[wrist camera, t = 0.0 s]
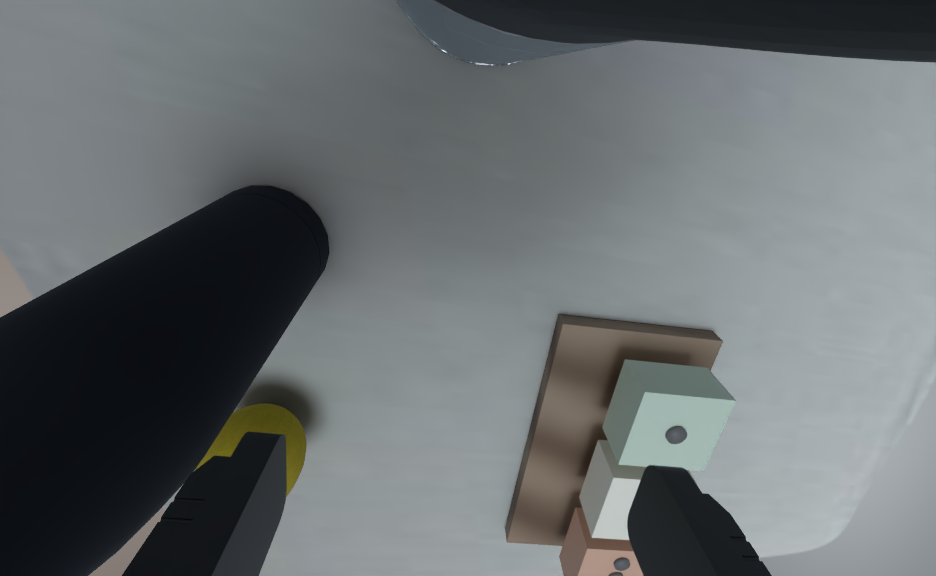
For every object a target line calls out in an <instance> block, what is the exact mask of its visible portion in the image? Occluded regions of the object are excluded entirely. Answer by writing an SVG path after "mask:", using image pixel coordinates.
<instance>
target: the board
mask: <svg viewBox="0 0 936 576" xmlns="http://www.w3.org/2000/svg"><path fill="white" fill-rule="evenodd" d="M722 342H723V341H722V340H721V339H720V338H719V337H718V336H717V335H716V334H715V333H714V332H713V331H706V330H697V329H688V328H679V327H670V326H660V325H651V324H642V323H633V322H624V321H615V320H605V319H596V318H587V317H578V316H569V315H558V319H557V323H556V327H555V331H554V335H553V339H552V343H551V347H550V351H549V355H548V359H547V363H546V367H545V371H544V375H543V379H542V383H541V387H540V391H539V395H538V399H537V403H536V407H535V411H534V415H533V419H532V423H531V427H530V431H529V435H528V439H527V443H526V447H525V451H524V455H523V459H522V463H521V467H520V471H519V475H518V479H517V483H516V487H515V491H514V495H513V499H512V503H511V507H510V511H509V515H508V519H507V523H506V527H505V531H506V539H507V542H509V543H525V544H541V545H557V546H563V544H564V541H565V538H566V535H567V532H568V529H569V526H570V523H571V520H572V517H573V514H574V511H575V508H582V505H581V502H580V498H579V496H580V493H581V490H582V487H583V484H584V481H585V478H586V475H587V472H588V469H589V465H590V462H591V459H592V456H593V453H594V450H595V447H596V444H597V441H598V440H607V437H606V435H605V433H604V430H603V428H602V426H603V423H604V420H605V417H606V414H607V411H608V408H609V405H610V402H611V399H612V396H613V393H614V390H615V387H616V384H617V381H618V378H619V375H620V372H621V369H622V366H623V363H624V360H625V359H626V360H636V361H646V362H656V363H666V364H676V365H686V366H696V367H705V368H708V369H709V370H711V368H712V366H713V363H714V361H715V359H716V356H717V354H718V352H719V349H720V347H721V345H722ZM607 441H608V440H607Z"/></svg>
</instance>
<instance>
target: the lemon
mask: <svg viewBox="0 0 936 576" xmlns="http://www.w3.org/2000/svg"><path fill="white" fill-rule="evenodd" d="M246 432H261V433H273V434H284V435H285V437H286V467H287V492H286V496H287V495H288V494H289V492H290V491H291V490H292V488H293V486H294V485H295V483H296V481H297V479H298V477H299V475H300V472H301V470H302V468H303V465H304V460H305V453H306V438H305V433H304V430H303V427H302V425H301V424H300V422H299V420H298V419H297V418H296V417H295V416H294V415H293V414H292V413H291V412H290V411H288V410H287V409H285V408H283V407H280V406H278V405H274V404H268V403H260V404H254V405H249V406H246V407H244V408H242V409H239V410H237V411H235V412H234V413H232V414H231V416H230V417H229V419H228V420H227V422H226V423H225V425H224V427H223V428H222V430H221V431H220V433H219V434H218V436H217V438H216V439H215V441H214V442H213V444H212V445H211V447H210V448H209V450H208V452H207V453H206V455H205V456H204V458H203V459H202V460H201V462H200V463H199V465H198V466H197V467H196V469H198V468H199V467H200V466H201V465H203V464H204V463H205V462H207V461H208V460H209V459H210V458H212V457H213V456H227V457H231V455H232V453H233V452H234V450H235V448H236V447H237V445H238V443H239V442H240V440H241V438H242V437H243V435H244V434H245V433H246Z"/></svg>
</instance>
